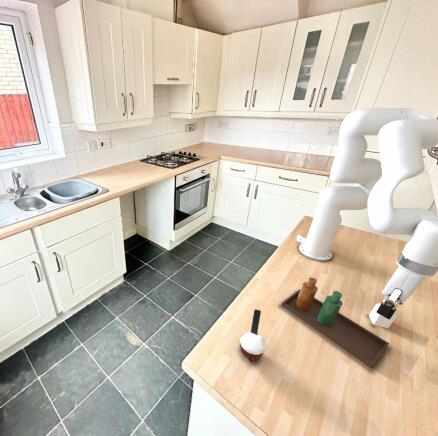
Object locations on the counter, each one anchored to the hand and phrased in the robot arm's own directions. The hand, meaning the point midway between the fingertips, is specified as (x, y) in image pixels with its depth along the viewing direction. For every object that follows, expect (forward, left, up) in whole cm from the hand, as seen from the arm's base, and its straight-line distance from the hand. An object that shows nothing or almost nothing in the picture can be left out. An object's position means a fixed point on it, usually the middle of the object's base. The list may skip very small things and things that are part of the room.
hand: (389, 308), depth 73 cm
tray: (-8, -14, -7) cm, 18 cm away
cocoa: (-16, -42, -7) cm, 45 cm away
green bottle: (-10, -14, -6) cm, 18 cm away
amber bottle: (-17, -14, -6) cm, 23 cm away
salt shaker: (0, 0, -7) cm, 7 cm away
